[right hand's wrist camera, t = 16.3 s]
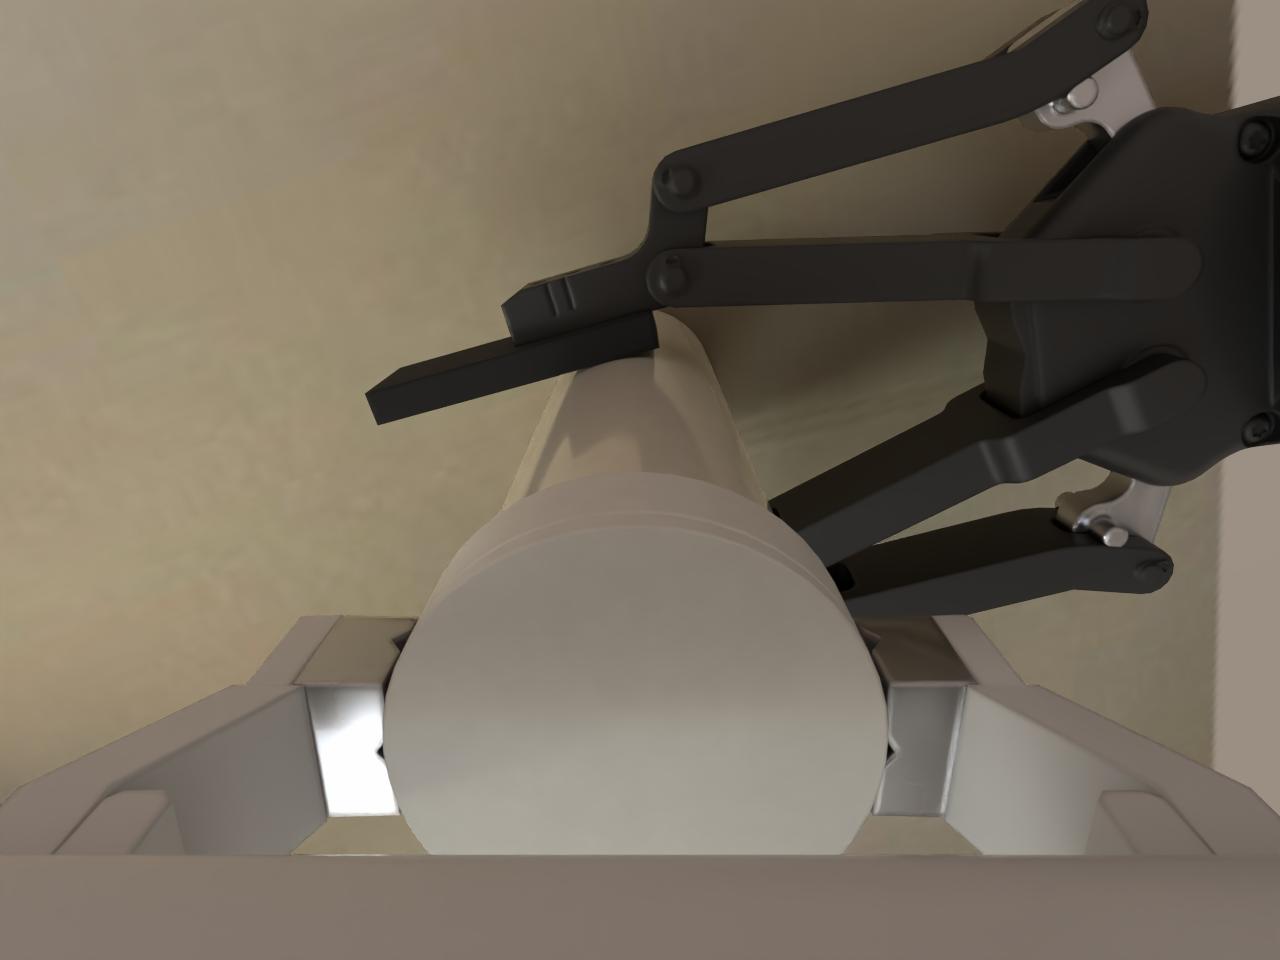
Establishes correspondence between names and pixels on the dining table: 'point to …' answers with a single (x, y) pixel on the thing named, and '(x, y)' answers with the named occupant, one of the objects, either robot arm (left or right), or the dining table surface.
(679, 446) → the beige cylinder
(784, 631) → the lid
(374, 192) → the dining table surface
